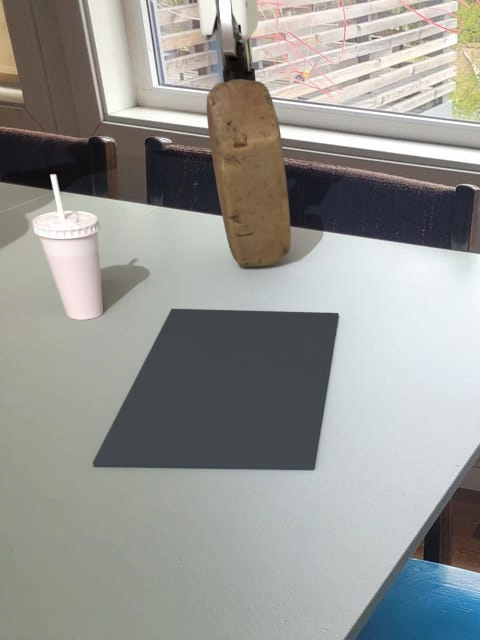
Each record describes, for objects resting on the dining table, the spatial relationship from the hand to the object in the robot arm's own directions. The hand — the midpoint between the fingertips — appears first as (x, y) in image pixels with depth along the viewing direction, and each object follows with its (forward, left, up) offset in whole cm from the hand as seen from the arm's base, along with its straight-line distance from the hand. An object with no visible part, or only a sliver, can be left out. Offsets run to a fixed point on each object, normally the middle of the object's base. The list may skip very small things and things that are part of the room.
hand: (242, 110), depth 109 cm
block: (0, +3, -15) cm, 15 cm away
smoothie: (-16, -16, -17) cm, 29 cm away
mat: (+2, -32, -17) cm, 36 cm away
